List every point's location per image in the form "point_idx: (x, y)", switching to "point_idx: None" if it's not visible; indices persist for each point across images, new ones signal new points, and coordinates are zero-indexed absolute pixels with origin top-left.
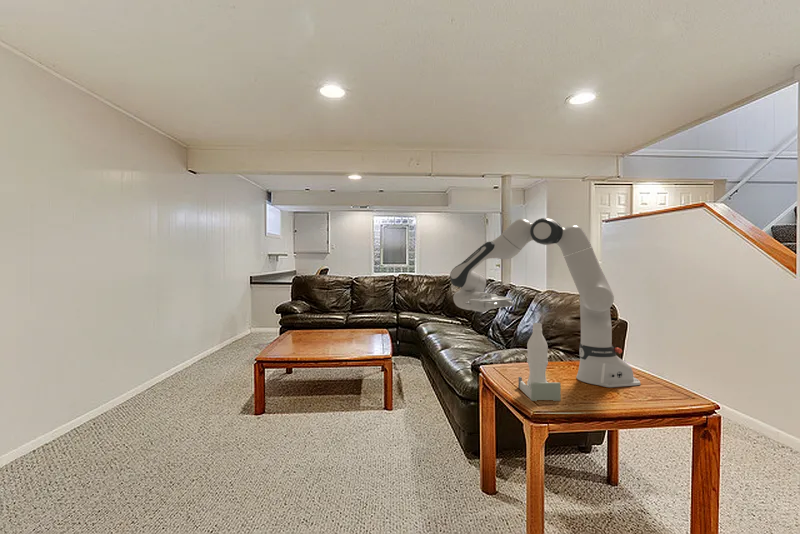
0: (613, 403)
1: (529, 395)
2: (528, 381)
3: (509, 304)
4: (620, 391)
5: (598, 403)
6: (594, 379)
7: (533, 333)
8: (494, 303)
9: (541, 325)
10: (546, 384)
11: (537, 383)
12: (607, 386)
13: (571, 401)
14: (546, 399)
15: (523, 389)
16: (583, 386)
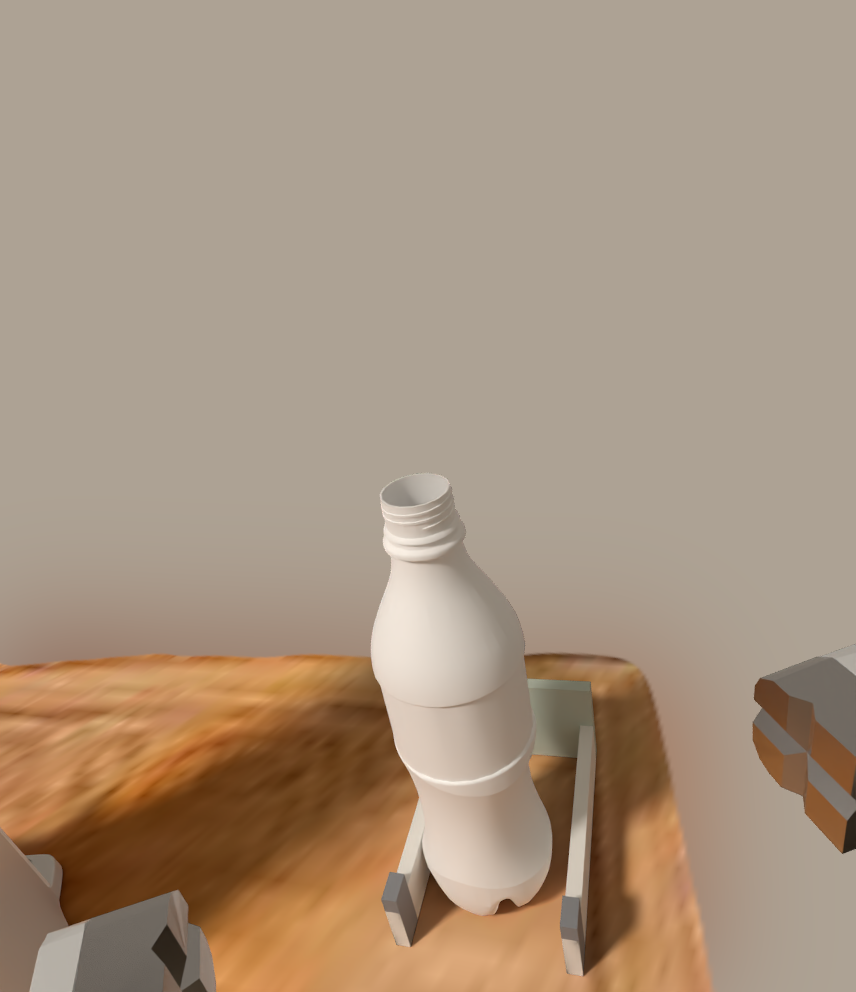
0: (261, 697)
1: (594, 769)
2: (545, 832)
3: (195, 984)
4: (72, 810)
5: (317, 702)
6: (47, 909)
7: (467, 554)
8: (836, 652)
9: (397, 490)
10: None
11: (560, 681)
12: (58, 863)
13: None
14: None
15: (588, 860)
16: None
